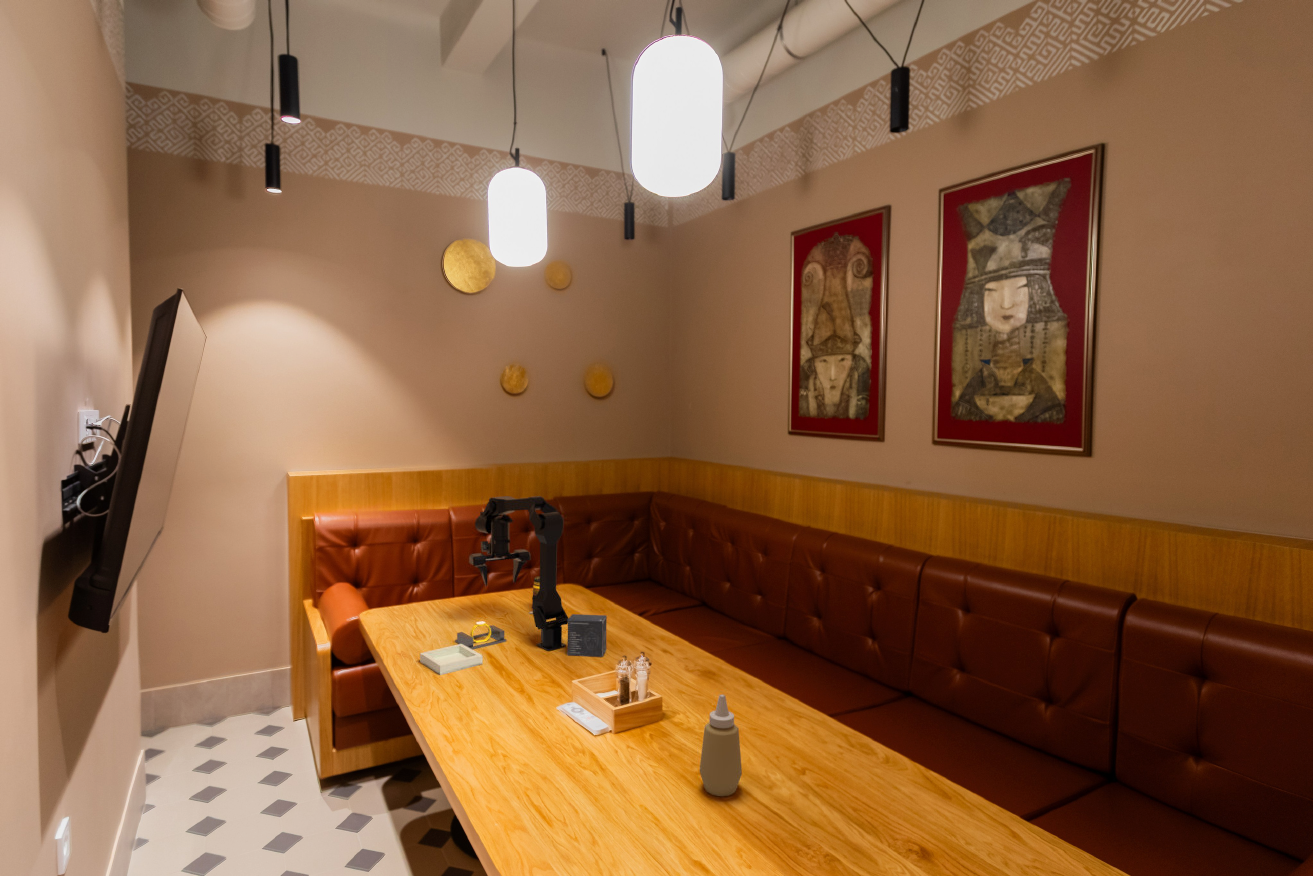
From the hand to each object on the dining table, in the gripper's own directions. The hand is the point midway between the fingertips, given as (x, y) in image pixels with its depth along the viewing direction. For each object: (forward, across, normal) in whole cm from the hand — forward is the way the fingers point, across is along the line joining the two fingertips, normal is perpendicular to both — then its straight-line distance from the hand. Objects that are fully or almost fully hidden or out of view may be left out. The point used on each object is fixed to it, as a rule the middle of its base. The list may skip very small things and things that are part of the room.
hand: (500, 583), depth 232 cm
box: (+15, -16, +34) cm, 41 cm away
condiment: (+14, -18, -10) cm, 25 cm away
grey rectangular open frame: (+14, +9, +12) cm, 21 cm away
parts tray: (+14, +22, +26) cm, 36 cm away
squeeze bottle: (+16, -9, +114) cm, 116 cm away
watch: (+14, +9, +12) cm, 21 cm away
